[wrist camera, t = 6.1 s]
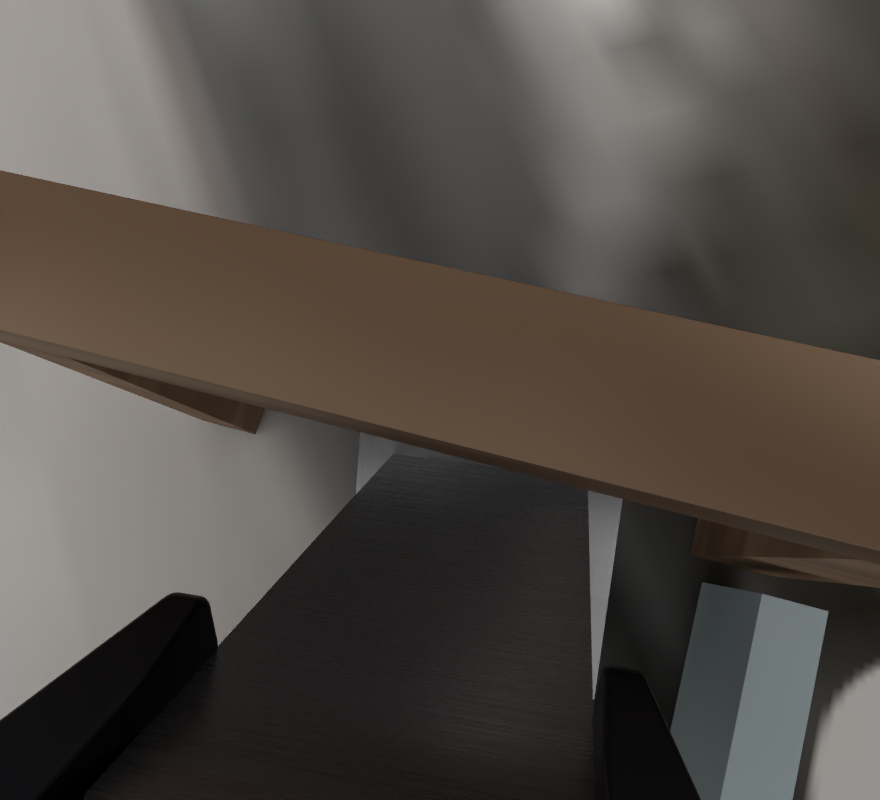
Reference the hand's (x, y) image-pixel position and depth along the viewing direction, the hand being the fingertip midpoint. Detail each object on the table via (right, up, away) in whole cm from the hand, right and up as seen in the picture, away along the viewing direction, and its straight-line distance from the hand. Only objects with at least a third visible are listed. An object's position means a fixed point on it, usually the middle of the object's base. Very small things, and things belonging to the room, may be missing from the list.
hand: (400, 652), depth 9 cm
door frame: (+1, +1, +14) cm, 14 cm away
